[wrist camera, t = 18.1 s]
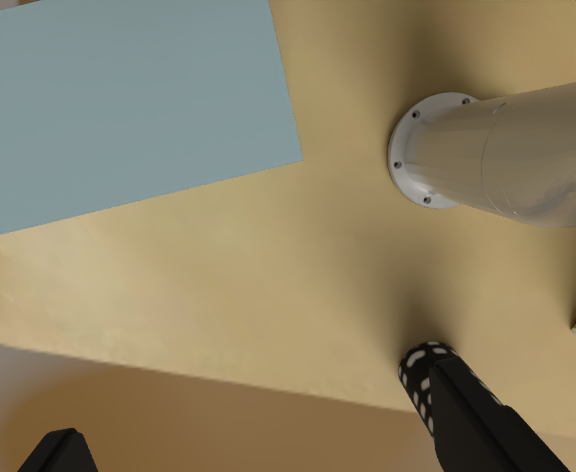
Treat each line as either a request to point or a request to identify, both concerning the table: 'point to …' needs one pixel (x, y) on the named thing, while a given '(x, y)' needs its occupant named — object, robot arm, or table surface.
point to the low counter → (135, 102)
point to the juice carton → (574, 330)
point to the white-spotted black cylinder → (426, 376)
